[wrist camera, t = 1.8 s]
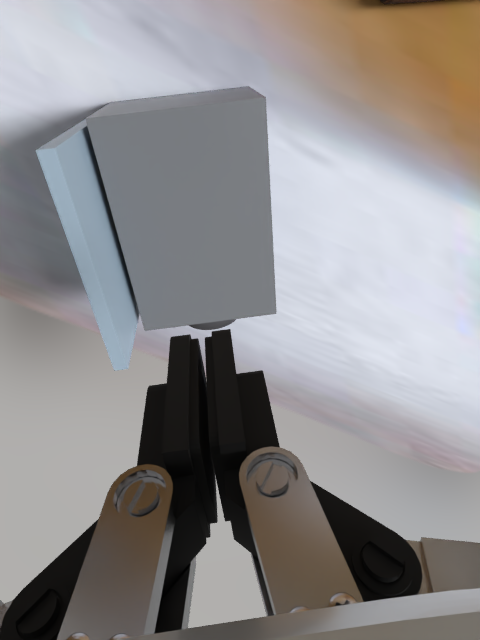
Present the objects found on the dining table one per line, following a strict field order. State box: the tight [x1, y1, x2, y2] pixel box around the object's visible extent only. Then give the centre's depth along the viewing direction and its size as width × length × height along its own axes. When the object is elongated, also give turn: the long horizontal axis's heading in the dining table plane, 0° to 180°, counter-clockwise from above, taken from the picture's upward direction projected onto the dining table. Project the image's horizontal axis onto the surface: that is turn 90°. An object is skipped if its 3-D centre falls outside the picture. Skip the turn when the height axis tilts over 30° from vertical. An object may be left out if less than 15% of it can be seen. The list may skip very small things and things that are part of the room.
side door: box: [35, 119, 140, 370], centre depth 24 cm, size 12×1×11 cm, turn 5°
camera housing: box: [85, 87, 276, 331], centre depth 27 cm, size 15×9×7 cm, turn 5°
